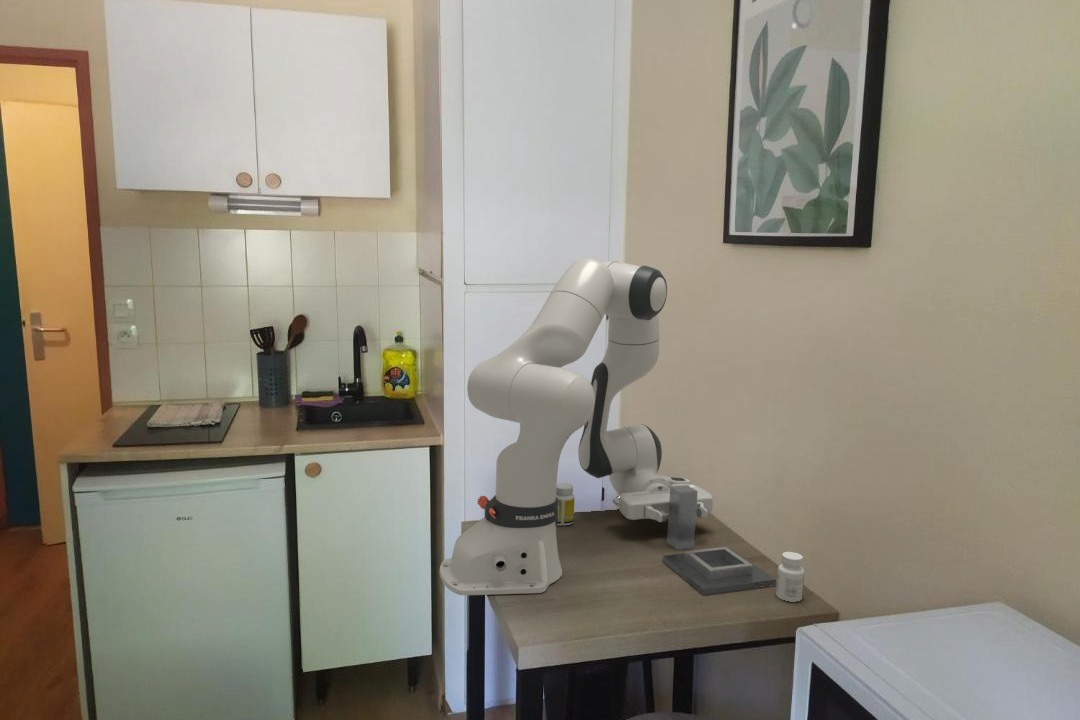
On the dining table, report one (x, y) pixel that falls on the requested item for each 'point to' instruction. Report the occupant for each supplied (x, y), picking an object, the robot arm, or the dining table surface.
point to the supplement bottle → (565, 503)
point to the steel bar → (682, 517)
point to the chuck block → (717, 570)
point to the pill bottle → (790, 577)
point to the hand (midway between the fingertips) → (684, 516)
